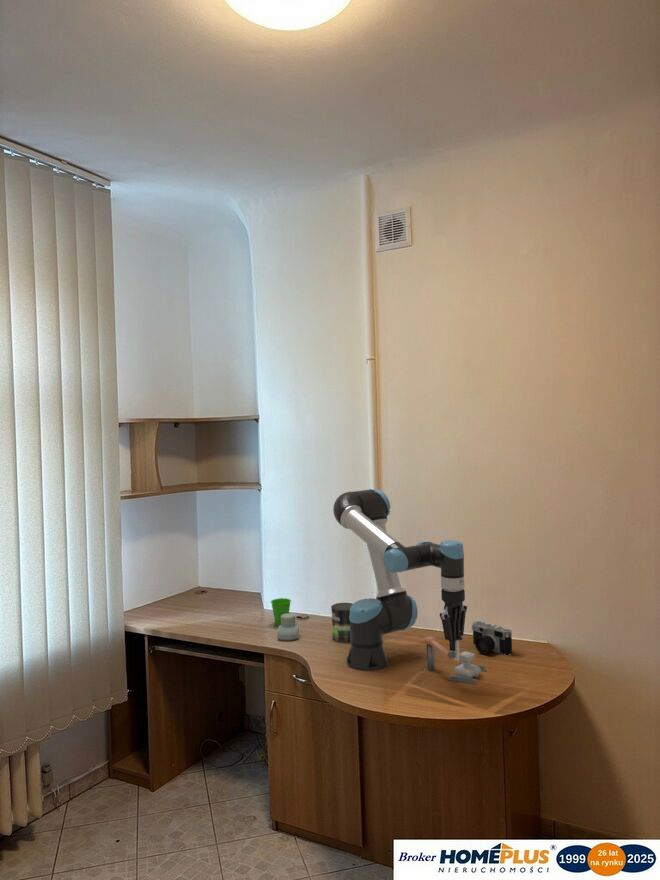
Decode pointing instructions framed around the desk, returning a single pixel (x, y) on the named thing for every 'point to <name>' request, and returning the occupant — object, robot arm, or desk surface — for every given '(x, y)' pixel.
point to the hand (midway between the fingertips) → (454, 659)
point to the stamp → (467, 666)
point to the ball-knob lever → (439, 647)
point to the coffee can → (341, 622)
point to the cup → (280, 608)
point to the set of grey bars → (451, 677)
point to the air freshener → (288, 628)
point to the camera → (491, 638)
